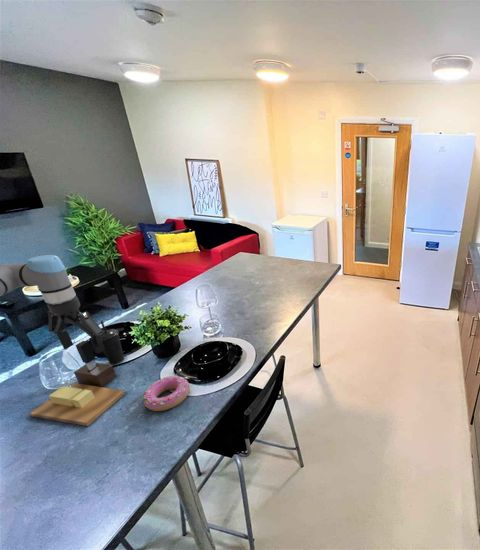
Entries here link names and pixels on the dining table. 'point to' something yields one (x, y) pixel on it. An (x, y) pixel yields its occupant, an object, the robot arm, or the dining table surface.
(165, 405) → the donut
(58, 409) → the board
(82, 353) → the knife
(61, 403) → the butter stick
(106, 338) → the drinking cup
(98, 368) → the knife block
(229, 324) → the dining table surface
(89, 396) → the butter pat
